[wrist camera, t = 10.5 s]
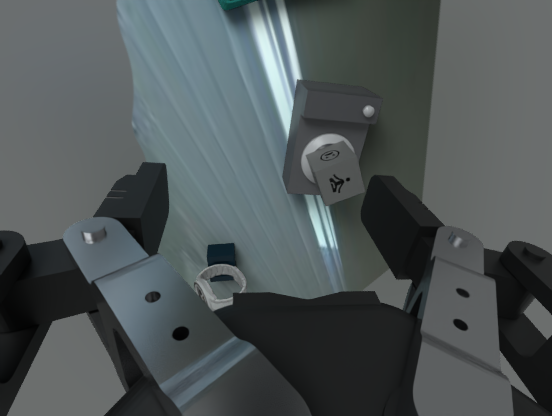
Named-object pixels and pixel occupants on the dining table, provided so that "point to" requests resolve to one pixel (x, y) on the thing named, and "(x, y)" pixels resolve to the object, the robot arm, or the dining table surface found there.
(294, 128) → the camera body
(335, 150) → the dice cube
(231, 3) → the digital multimeter
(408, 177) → the dining table surface
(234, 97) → the dining table surface
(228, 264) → the watch
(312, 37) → the dining table surface
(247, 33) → the dining table surface
